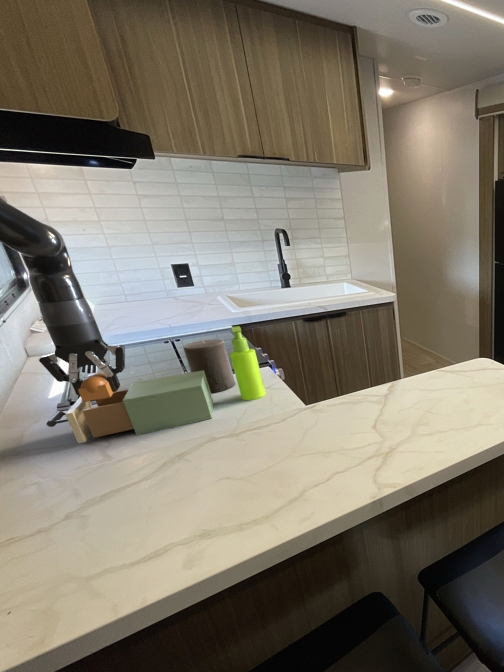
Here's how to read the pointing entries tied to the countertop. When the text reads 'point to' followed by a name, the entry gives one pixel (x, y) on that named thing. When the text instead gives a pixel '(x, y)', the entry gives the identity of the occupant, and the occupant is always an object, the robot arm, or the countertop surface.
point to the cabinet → (168, 402)
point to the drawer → (96, 417)
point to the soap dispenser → (246, 368)
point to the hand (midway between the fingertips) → (100, 393)
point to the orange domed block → (95, 387)
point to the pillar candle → (211, 363)
